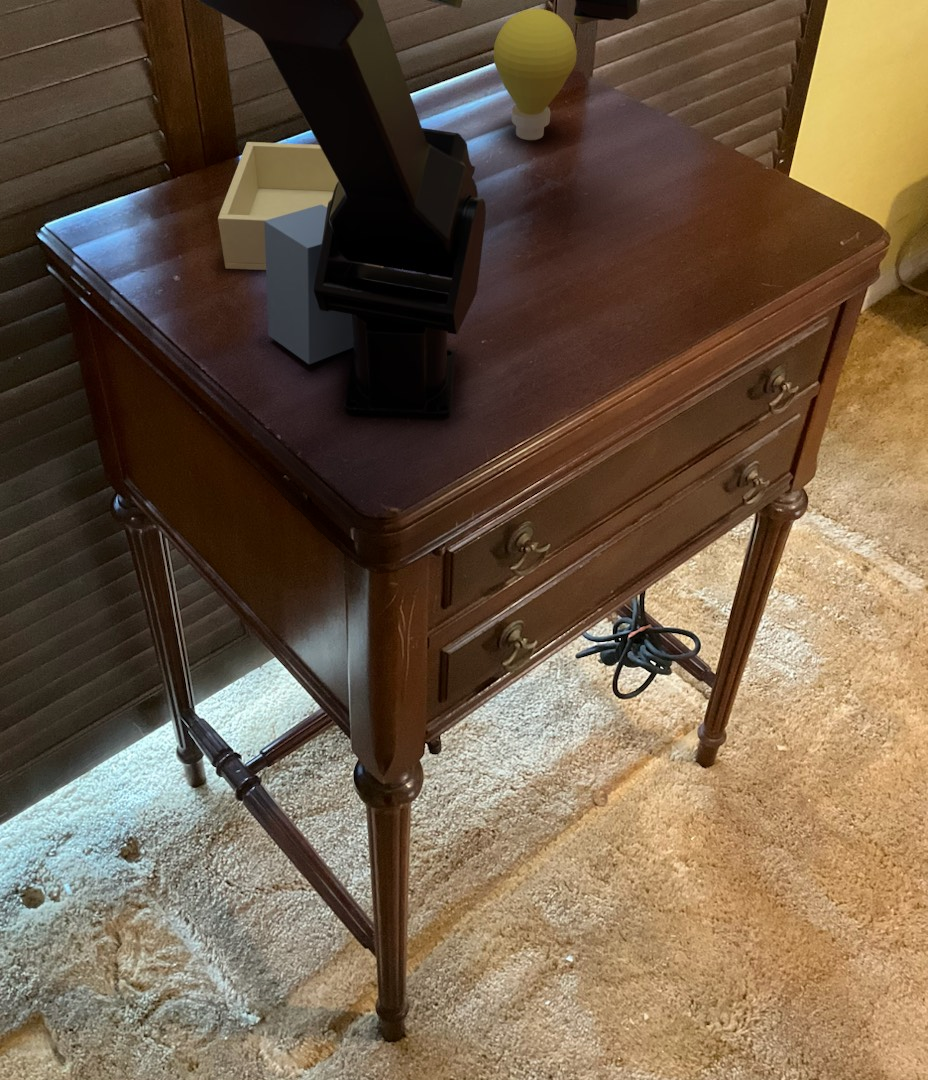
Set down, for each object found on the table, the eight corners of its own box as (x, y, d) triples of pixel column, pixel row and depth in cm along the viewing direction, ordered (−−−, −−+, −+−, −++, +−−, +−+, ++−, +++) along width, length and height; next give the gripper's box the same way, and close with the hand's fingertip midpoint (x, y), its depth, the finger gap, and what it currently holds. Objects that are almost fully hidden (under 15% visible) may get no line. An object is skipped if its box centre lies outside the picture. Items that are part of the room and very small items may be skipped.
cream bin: (382, 275, 79) (380, 224, 76) (225, 268, 79) (217, 218, 76) (395, 196, 87) (394, 147, 84) (253, 190, 87) (246, 141, 84)
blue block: (362, 344, 73) (366, 229, 68) (309, 364, 71) (307, 248, 65) (321, 316, 75) (321, 203, 70) (268, 335, 73) (263, 220, 68)
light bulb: (534, 160, 91) (543, 35, 84) (474, 133, 94) (477, 11, 87) (585, 133, 95) (597, 11, 87) (525, 108, 98) (532, -11, 90)
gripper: (673, -238, 64) (671, -87, 79) (365, -265, 67) (420, -115, 82) (632, -45, 64) (638, 68, 80) (328, -81, 67) (390, 34, 83)
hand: (520, 9), depth 81 cm, fingers open, 9 cm apart
